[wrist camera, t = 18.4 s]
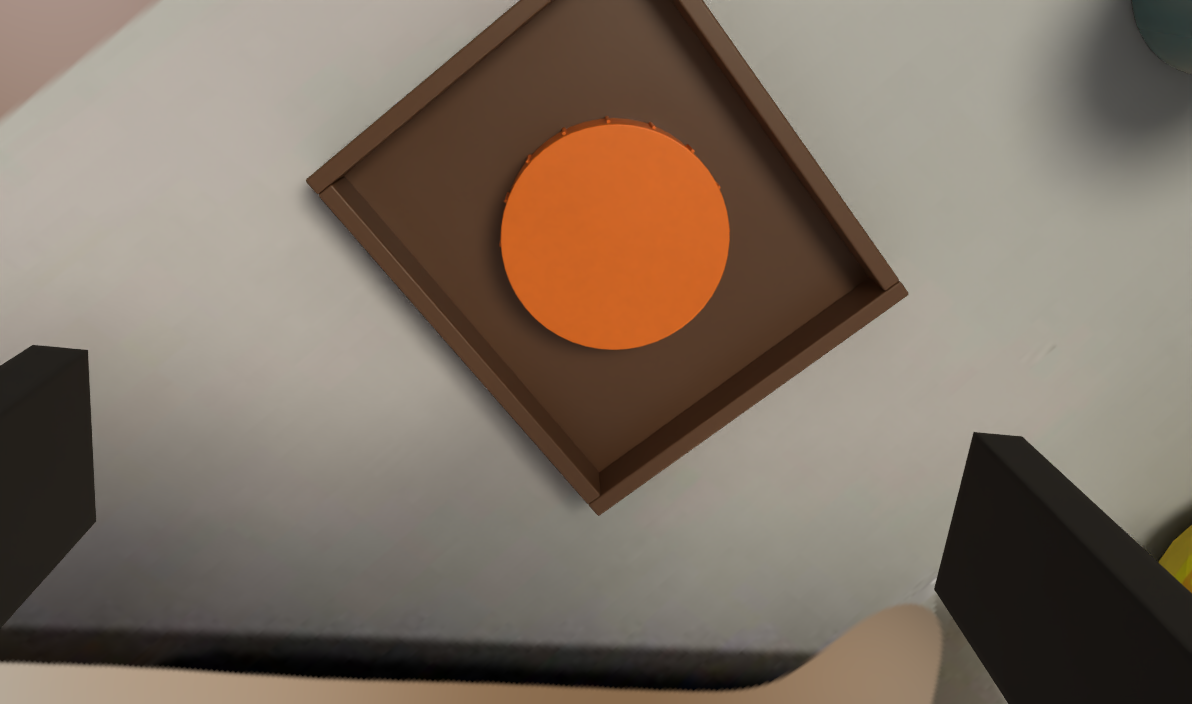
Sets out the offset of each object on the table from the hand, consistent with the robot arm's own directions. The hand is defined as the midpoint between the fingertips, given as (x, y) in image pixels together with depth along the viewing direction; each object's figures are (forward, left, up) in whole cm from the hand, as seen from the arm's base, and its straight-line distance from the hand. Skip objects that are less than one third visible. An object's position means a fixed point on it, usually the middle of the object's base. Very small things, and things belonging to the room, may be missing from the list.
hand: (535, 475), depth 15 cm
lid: (+2, +1, -19) cm, 19 cm away
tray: (+2, +1, -21) cm, 21 cm away
